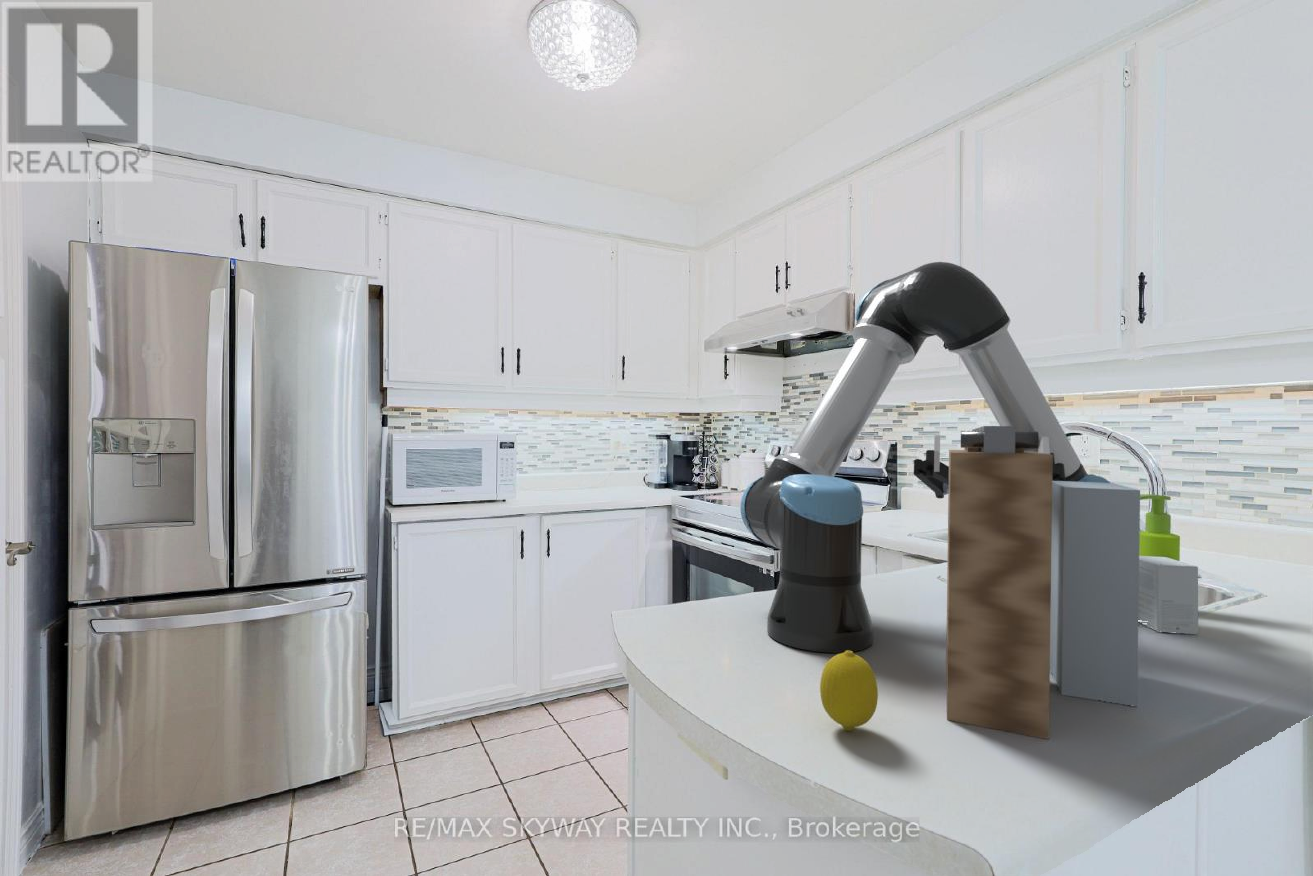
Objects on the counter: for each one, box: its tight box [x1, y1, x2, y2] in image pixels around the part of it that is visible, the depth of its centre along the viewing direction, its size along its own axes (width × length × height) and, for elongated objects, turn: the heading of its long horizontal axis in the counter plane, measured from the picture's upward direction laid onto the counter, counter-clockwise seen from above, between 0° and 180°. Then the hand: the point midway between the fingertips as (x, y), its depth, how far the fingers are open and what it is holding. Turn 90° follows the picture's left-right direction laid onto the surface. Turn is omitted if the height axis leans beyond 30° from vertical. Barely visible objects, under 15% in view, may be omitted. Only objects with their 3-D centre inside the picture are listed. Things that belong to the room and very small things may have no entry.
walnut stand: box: [945, 448, 1053, 740], centre depth 69 cm, size 9×18×29 cm, turn 155°
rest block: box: [1050, 481, 1141, 707], centre depth 73 cm, size 7×12×24 cm, turn 154°
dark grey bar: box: [960, 425, 1039, 454], centre depth 74 cm, size 7×28×3 cm, turn 154°
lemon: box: [819, 650, 879, 731], centre depth 60 cm, size 6×6×8 cm
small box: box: [1138, 556, 1199, 635], centre depth 96 cm, size 8×6×10 cm
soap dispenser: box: [1139, 493, 1181, 562], centre depth 106 cm, size 6×7×20 cm
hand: (989, 443), depth 86 cm, fingers open, 13 cm apart
